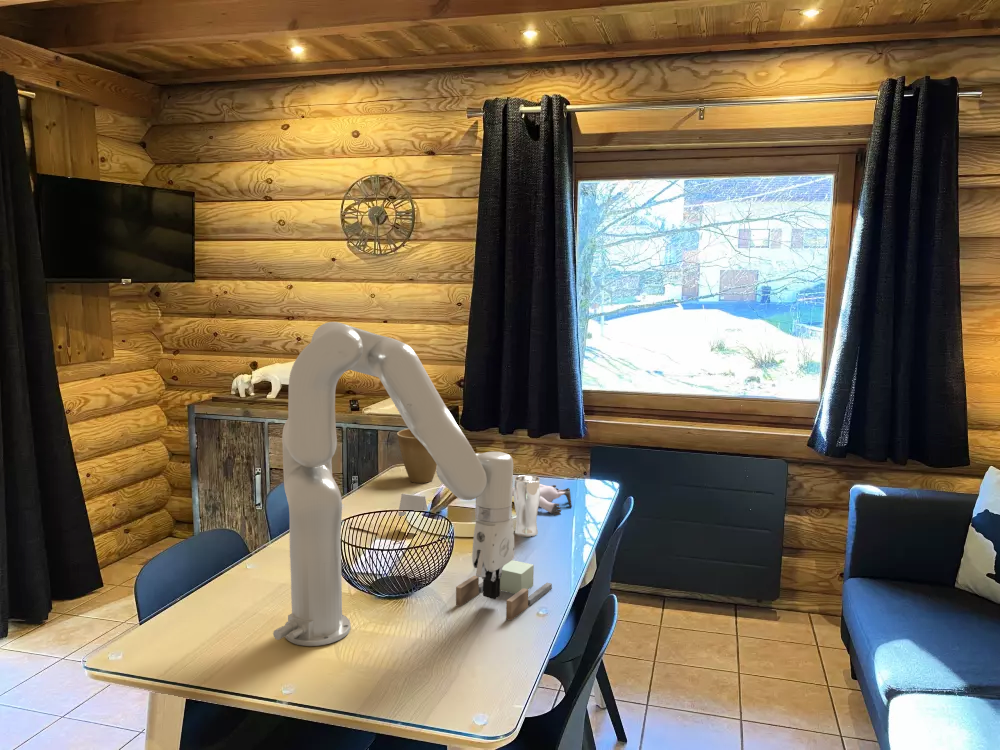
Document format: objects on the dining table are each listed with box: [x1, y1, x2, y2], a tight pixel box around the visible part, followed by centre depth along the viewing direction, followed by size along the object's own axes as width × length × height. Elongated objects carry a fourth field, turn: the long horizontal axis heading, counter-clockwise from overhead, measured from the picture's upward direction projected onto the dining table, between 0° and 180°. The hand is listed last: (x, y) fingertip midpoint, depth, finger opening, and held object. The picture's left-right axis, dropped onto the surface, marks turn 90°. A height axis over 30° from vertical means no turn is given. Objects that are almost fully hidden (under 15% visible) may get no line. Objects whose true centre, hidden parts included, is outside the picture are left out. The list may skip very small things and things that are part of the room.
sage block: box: [499, 559, 535, 594], centre depth 174 cm, size 6×6×5 cm
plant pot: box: [396, 428, 437, 484], centre depth 255 cm, size 15×15×16 cm
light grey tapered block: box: [398, 493, 429, 517], centre depth 208 cm, size 4×7×10 cm, turn 70°
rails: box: [479, 581, 553, 606], centre depth 173 cm, size 10×13×1 cm
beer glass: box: [513, 474, 541, 538], centre depth 207 cm, size 7×7×15 cm
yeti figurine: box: [512, 483, 572, 516], centre depth 234 cm, size 20×7×20 cm
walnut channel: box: [455, 575, 529, 621], centre depth 164 cm, size 7×13×4 cm, turn 59°
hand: (491, 596), depth 165 cm, fingers closed
